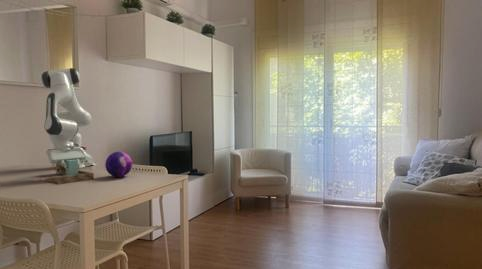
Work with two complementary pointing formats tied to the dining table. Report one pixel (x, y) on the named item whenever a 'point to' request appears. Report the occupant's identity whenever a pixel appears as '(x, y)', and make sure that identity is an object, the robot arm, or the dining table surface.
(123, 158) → the decorative orb
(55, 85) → the robot arm
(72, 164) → the teal block
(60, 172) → the coffee box
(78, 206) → the dining table surface
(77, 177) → the tray
